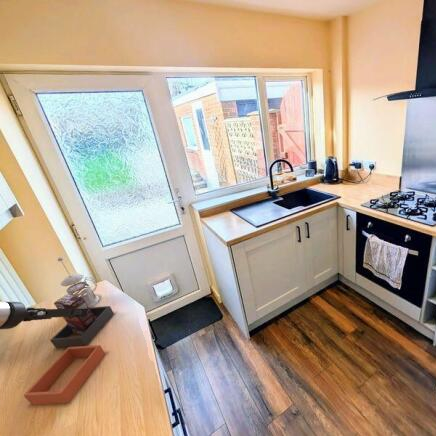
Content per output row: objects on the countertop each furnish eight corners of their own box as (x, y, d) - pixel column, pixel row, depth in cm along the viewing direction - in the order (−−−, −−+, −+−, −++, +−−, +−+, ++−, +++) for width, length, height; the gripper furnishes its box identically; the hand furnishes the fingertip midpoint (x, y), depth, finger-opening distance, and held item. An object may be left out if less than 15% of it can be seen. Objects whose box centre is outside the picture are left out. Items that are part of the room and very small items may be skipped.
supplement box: (72, 333, 96) (52, 303, 89) (84, 323, 100) (66, 293, 94) (89, 336, 94) (69, 305, 87) (101, 326, 98) (83, 295, 91)
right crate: (56, 348, 90) (49, 340, 88) (88, 315, 104) (83, 307, 103) (86, 346, 90) (80, 338, 88) (114, 313, 104) (109, 305, 102)
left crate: (31, 404, 72) (23, 395, 71) (74, 355, 87) (68, 347, 85) (68, 402, 72) (61, 393, 70) (105, 353, 86) (100, 345, 84)
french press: (76, 301, 114) (48, 256, 104) (105, 291, 118) (81, 247, 108) (70, 315, 106) (39, 267, 95) (101, 304, 110) (76, 257, 100)
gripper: (-46, 332, 70) (33, 327, 89) (36, 327, 68) (98, 322, 88) (-36, 304, 72) (39, 305, 92) (43, 298, 71) (102, 300, 91)
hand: (68, 313), depth 90 cm, fingers open, 13 cm apart
